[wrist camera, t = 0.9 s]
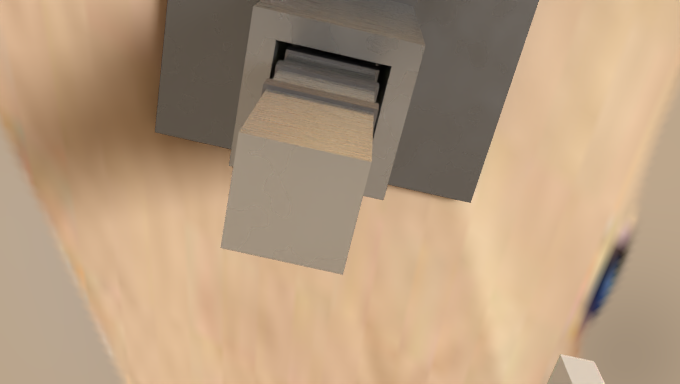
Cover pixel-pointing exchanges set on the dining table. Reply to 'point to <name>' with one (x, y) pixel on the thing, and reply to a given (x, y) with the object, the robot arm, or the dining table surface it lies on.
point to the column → (304, 161)
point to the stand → (362, 43)
